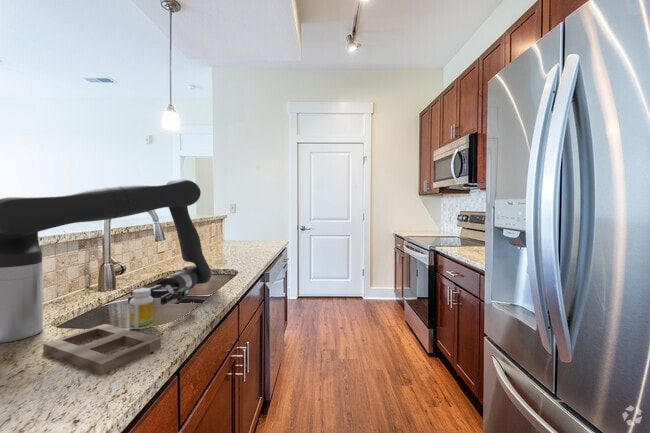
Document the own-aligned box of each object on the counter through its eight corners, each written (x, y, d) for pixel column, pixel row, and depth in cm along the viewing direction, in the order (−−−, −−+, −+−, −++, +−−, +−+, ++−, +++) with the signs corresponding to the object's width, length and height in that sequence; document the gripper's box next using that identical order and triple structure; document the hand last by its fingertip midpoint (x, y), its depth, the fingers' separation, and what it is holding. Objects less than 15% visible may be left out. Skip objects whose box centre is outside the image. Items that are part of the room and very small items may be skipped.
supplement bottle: (124, 330, 74) (124, 293, 73) (136, 322, 79) (136, 287, 79) (147, 330, 74) (147, 292, 74) (157, 322, 80) (157, 287, 79)
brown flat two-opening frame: (43, 353, 62) (43, 343, 62) (105, 331, 73) (104, 323, 73) (101, 374, 54) (101, 364, 54) (160, 347, 65) (160, 338, 65)
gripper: (152, 274, 94) (118, 287, 78) (197, 274, 95) (172, 287, 79) (152, 297, 95) (119, 315, 78) (197, 297, 95) (172, 314, 79)
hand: (146, 301), depth 79 cm, fingers open, 8 cm apart
